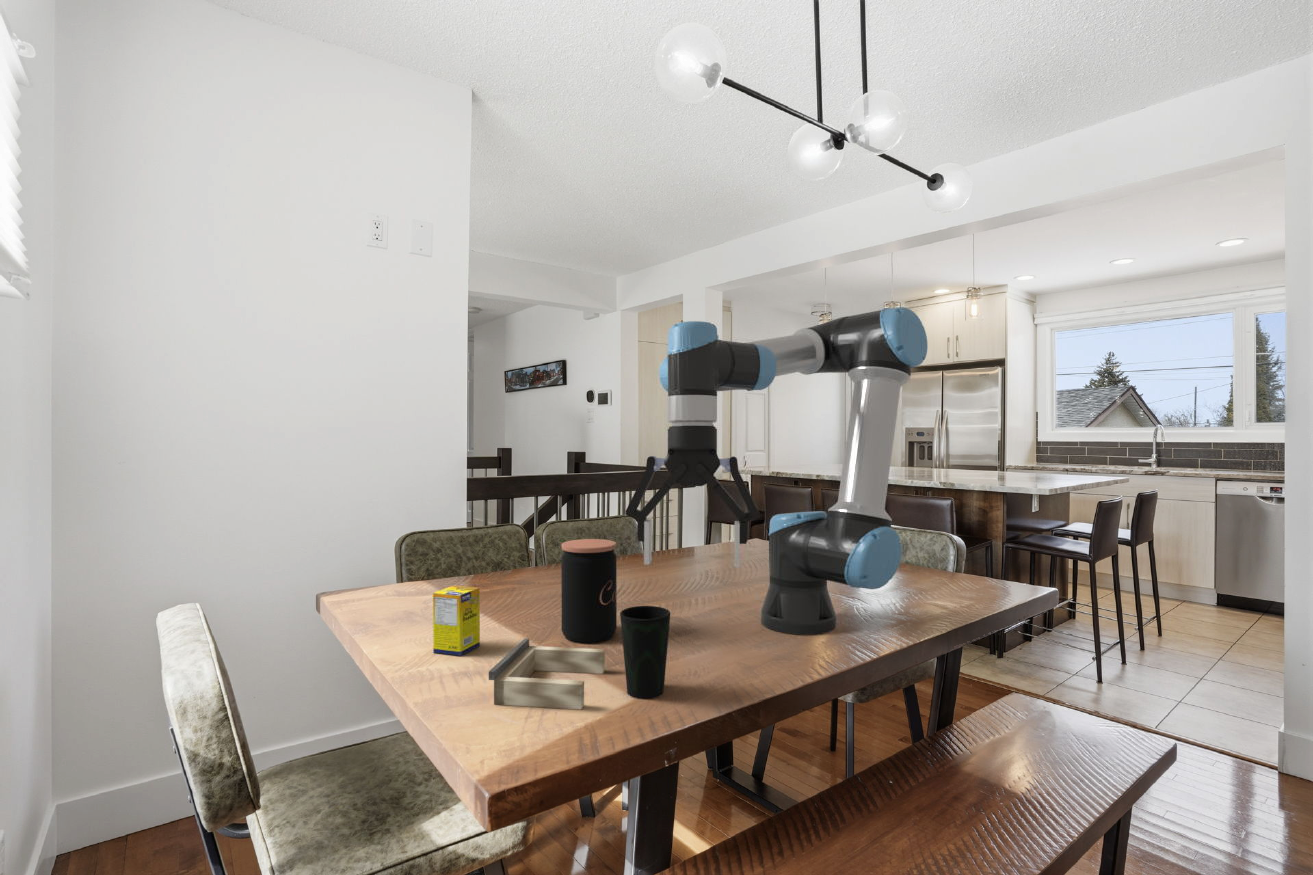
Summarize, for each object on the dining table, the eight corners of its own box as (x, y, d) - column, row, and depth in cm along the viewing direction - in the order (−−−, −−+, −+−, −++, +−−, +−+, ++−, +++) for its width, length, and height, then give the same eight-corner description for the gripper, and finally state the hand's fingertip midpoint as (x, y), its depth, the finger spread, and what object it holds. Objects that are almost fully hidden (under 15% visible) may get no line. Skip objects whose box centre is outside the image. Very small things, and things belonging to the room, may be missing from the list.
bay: (604, 670, 103) (604, 641, 103) (581, 709, 88) (581, 676, 88) (524, 666, 105) (524, 638, 105) (488, 703, 90) (488, 671, 90)
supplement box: (480, 646, 116) (480, 587, 116) (460, 656, 110) (460, 594, 110) (453, 642, 117) (453, 584, 117) (432, 653, 112) (432, 592, 112)
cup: (619, 682, 98) (619, 606, 98) (667, 680, 99) (667, 605, 99) (620, 702, 91) (620, 620, 91) (673, 700, 91) (672, 619, 91)
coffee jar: (608, 646, 115) (607, 549, 115) (553, 642, 117) (553, 547, 117) (622, 628, 126) (622, 539, 126) (572, 625, 128) (572, 538, 128)
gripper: (774, 425, 97) (773, 561, 97) (616, 425, 100) (616, 557, 100) (776, 424, 90) (776, 571, 90) (606, 424, 93) (606, 566, 93)
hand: (692, 564), depth 95 cm, fingers open, 13 cm apart
